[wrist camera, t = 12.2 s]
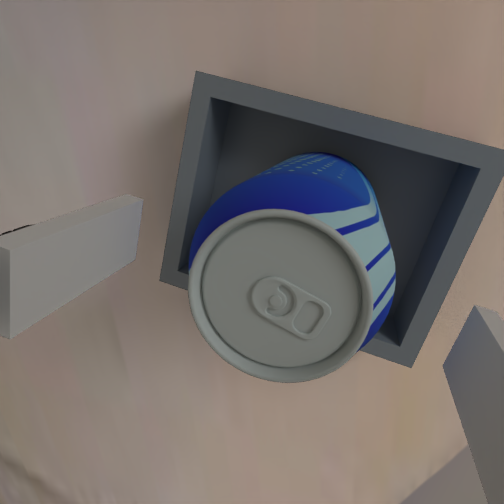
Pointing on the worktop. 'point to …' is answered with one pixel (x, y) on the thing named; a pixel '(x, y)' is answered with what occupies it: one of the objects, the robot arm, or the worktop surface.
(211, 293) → the beer can
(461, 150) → the caddy
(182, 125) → the worktop surface
